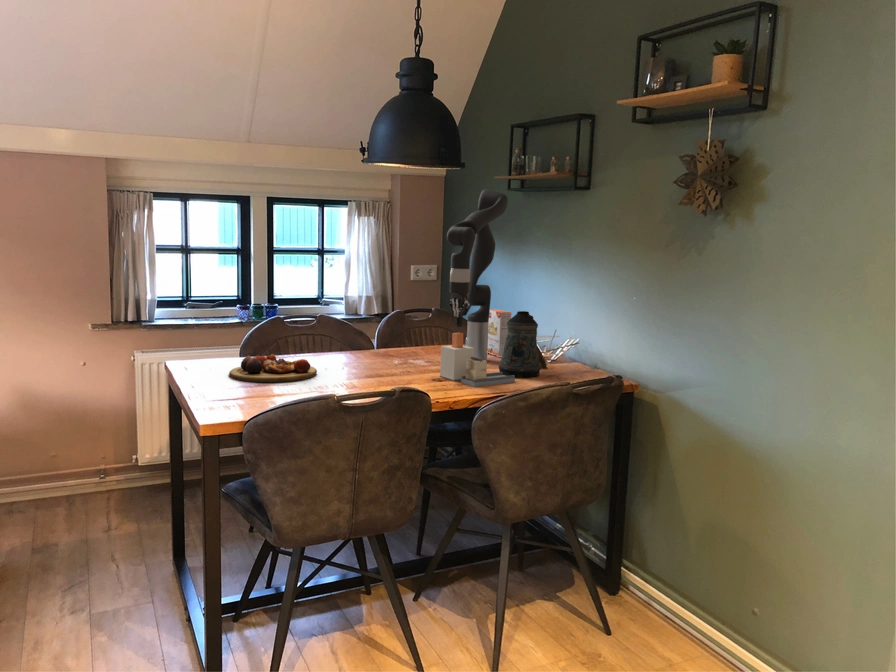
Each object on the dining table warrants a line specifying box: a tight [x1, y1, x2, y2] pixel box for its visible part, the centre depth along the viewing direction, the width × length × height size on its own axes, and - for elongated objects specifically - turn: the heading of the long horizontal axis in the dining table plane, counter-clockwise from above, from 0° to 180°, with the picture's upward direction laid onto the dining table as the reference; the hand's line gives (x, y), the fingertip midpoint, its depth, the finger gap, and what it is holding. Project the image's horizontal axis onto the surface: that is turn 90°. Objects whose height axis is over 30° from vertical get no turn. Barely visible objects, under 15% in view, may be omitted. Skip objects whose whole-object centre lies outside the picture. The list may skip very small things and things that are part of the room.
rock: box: [537, 345, 548, 370], centre depth 297 cm, size 11×9×10 cm
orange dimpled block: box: [451, 332, 464, 348], centre depth 266 cm, size 3×3×9 cm
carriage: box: [466, 357, 488, 381], centre depth 258 cm, size 6×5×8 cm
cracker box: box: [488, 308, 512, 356], centre depth 323 cm, size 14×6×21 cm, turn 25°
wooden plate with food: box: [228, 352, 318, 383], centre depth 264 cm, size 32×32×8 cm
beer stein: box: [498, 310, 541, 379], centre depth 279 cm, size 16×19×25 cm
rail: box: [460, 371, 516, 388], centre depth 262 cm, size 8×19×2 cm, turn 125°
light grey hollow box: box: [439, 344, 474, 382], centre depth 267 cm, size 9×9×12 cm
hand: (458, 326), depth 266 cm, fingers closed
